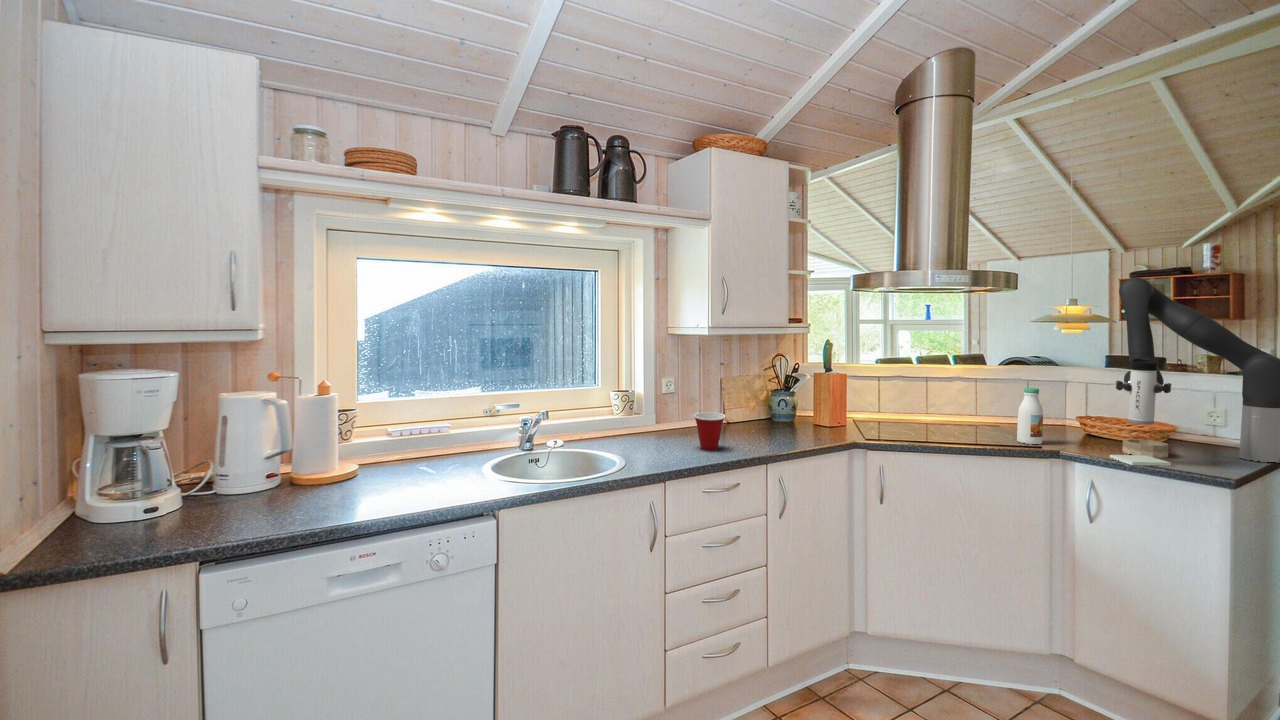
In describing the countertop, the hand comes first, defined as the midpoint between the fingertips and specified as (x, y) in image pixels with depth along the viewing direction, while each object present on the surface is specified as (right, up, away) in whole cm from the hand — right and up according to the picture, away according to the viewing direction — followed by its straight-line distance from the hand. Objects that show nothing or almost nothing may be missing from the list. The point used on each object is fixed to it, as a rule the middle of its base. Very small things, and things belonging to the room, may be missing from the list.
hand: (1142, 388), depth 186 cm
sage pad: (+2, -23, +3) cm, 23 cm away
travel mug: (+1, -11, +3) cm, 11 cm away
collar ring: (+13, -22, +14) cm, 29 cm away
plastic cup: (-131, -22, +22) cm, 135 cm away
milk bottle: (-14, -21, +33) cm, 41 cm away
